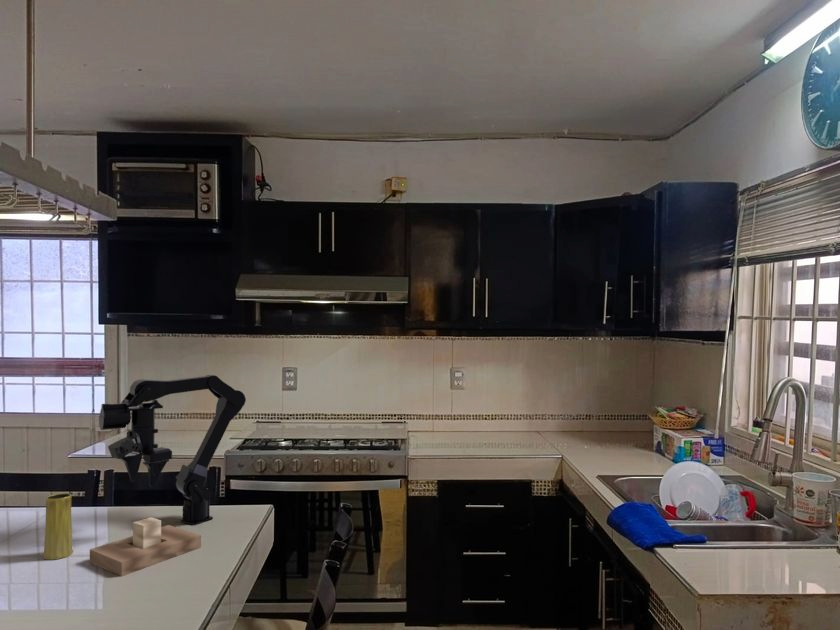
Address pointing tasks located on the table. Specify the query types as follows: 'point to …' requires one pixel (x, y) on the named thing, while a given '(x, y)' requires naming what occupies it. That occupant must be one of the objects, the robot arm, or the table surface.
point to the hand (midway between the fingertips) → (142, 483)
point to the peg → (146, 533)
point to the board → (144, 551)
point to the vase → (58, 527)
